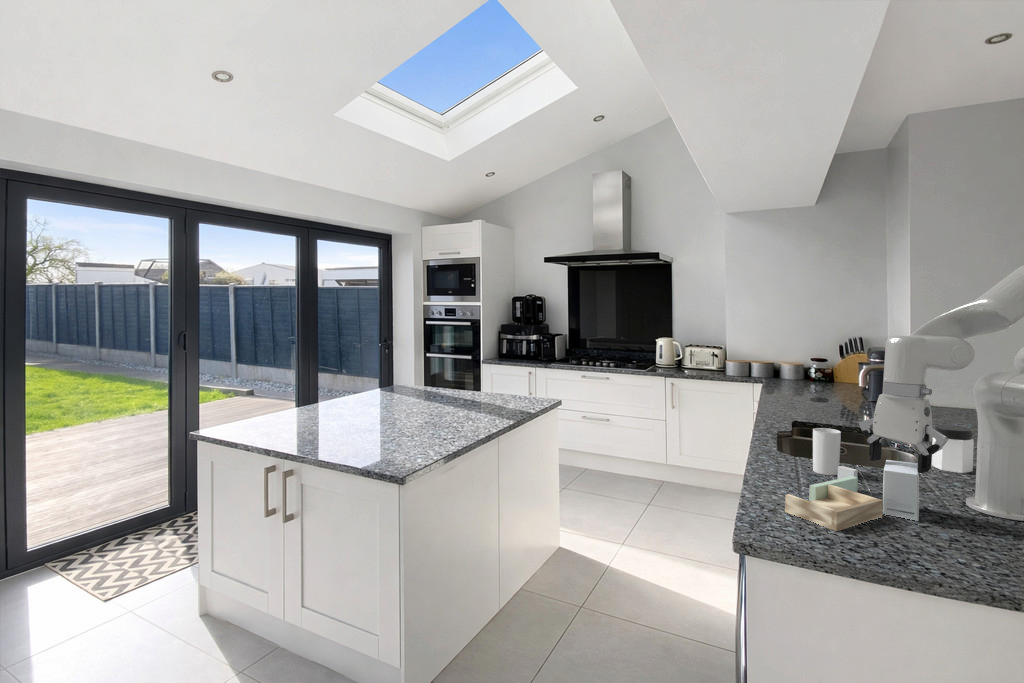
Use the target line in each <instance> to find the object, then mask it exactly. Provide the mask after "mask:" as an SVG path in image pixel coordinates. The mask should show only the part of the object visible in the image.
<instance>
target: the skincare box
mask: <svg viewBox="0 0 1024 683" xmlns="http://www.w3.org/2000/svg"><path fill="white" fill-rule="evenodd" d="M917 469H918V462H909V461H900V460H891V459H886V460H885V464H884V467H883V473H882V474H883V476H882V477H883V478H882V479H883V480H882V482H883V483H882V500H883V505H882V515H883V514H885V515H884V516H886V515H891V516H896V517H901V518H905V519H904V520H907V519H910V520H909V521H912V520H915V521H914V522H916V521H918V522H919V520H920V519H919V517H920V516H919V515H920V514H919V513H920V473H919V472H918V471H917ZM891 516H890V517H891ZM896 517H895V518H896ZM901 518H900V519H901Z"/></svg>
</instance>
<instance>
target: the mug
mask: <svg viewBox="0 0 1024 683" xmlns="http://www.w3.org/2000/svg"><path fill="white" fill-rule="evenodd" d="M841 433H842V431H840V430H838V429H834V428H826V427H825V428H824V427H816V428H812V470H813V473H815V474H816V473H817V474H818V475H825V476H838V466H840V456H841V455H840V454H841Z"/></svg>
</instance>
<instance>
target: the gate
mask: <svg viewBox="0 0 1024 683" xmlns="http://www.w3.org/2000/svg"><path fill="white" fill-rule="evenodd" d="M858 481H859V477H858V469H854V468H851V467H849V466H848V467H847V466H844V465H839V466H838V475H837V479H832V480H828V481H822V482H819V483H814V484H809V495H808V497H809V498H808V499H809V500H808V501H814V500H818V499H822V498H827V494H828V485H833V486H837V487H840V488H844V489H847V490H850V491H854V492H857V493H858V489H859V488H858V487H859V486H858V485H859V482H858Z"/></svg>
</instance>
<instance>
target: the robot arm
mask: <svg viewBox="0 0 1024 683" xmlns="http://www.w3.org/2000/svg"><path fill="white" fill-rule="evenodd" d="M1023 318H1024V265H1020V266H1019V267H1018V268H1016V269H1014V270H1013V271H1012V272H1011V273H1009V274H1008V275H1006V276H1005V277H1004V278H1003V279H1001V280H1000V281H998V283H996V284H994V285H993V286H992V287H990V289H988V290H986V291H985V292H984V293H983V294H981V295H980V296H978V297H977V298H976V299H974V300H972V301H970V302H968V303H965V304H963V305H961V306H958V307H956V308H954V309H952V310H950V311H948V312H947V311H946V312H945V313H942V314H941V315H938V316H936V317H935V318H932V319H930V320H929V321H927V322H925V323H924V324H923V325H921V326H920V327H918V328H917V329H916V330H914V331H913V332H911V333H910V334H909V335H892V336H889V337H888V338H887V339H886V340H885V351H884V363H883V366H884V367H883V381H882V393H881V394H879V395H878V398H877V401H876V405H875V408H874V413H873V417H872V418H869V419H865V420H861V421H859V422H858V425H859V427H860V430H861V433H862V435H863V436H864V438H865V439H866V441H867V443H868V444H869V446H868V448H869V450H868V455H869V461H873V462H875V461H880V460H882V459H881V458H882V446H883V445H882V442H881V441H882V440H883V439H886V440H891V441H895V442H896V441H897V442H900V443H901V442H902V443H905V444H912V445H914V446H916V447H917V449H918V450H919V452H920V454H918V456H917V457H918V458H917V463H918V469H917V471H918V472H919V474H923V473H929V471H930V470H931V469H932V454H935V453H936V452H937V451H939V450H941V449H942V447H943V446H944V445H945V444H946V442H947V441H948V438H947V437H946V436H944V435H943V434H941V433H939V432H938V431H936V430H935V428H934V427H933V416H932V415H933V413H932V408H931V404H930V399H929V398H928V399H927V398H925V397H926V396H927V395H928V396H931V395H933V389H932V388H928V387H927V384H926V382H927V370H928V369H931V370H938V371H949V372H950V371H951V372H952V371H953V372H955V371H959V370H962V369H966V368H967V367H968V366H970V365H971V364H972V363H973V361H974V359H975V355H976V354H975V352H976V351H975V349H974V347H973V345H971V343H970V342H968V341H967V340H965V339H969V338H972V337H978V336H982V335H988V334H992V333H996V332H1000V331H1004V330H1006V329H1008V328H1011V327H1013V326H1014V325H1015V324H1017V323H1019V321H1021V320H1022V319H1023ZM1013 366H1014V368H1015V370H1016V371H1017V372H1013V371H994V372H989V373H986V374H984V375H982V376H981V377H979V378H978V379H977V380H976V382H975V383H974V386H973V392H972V394H973V400H974V404H975V405H974V406H975V409H976V415H977V440H976V441H977V443H976V444H977V445H976V446H977V447H976V468H975V469H976V470H975V491H974V492H975V493H974V495H975V496H969V497H967V498H966V499H965V504H966V506H967V507H969V508H971V509H972V510H974V511H977V512H979V513H983V514H985V515H988V516H993V517H996V518H1002V519H1006V520H1011V521H1012V520H1014V521H1019V522H1020V521H1021V522H1024V346H1022V347H1021V348H1020V350H1019V351H1017V353H1016V355H1015V357H1014V359H1013ZM871 425H872V430H870V426H871ZM933 438H935V439H936V442H935V443H934V445H931V444H930V443H931V442H932V441H933Z"/></svg>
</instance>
